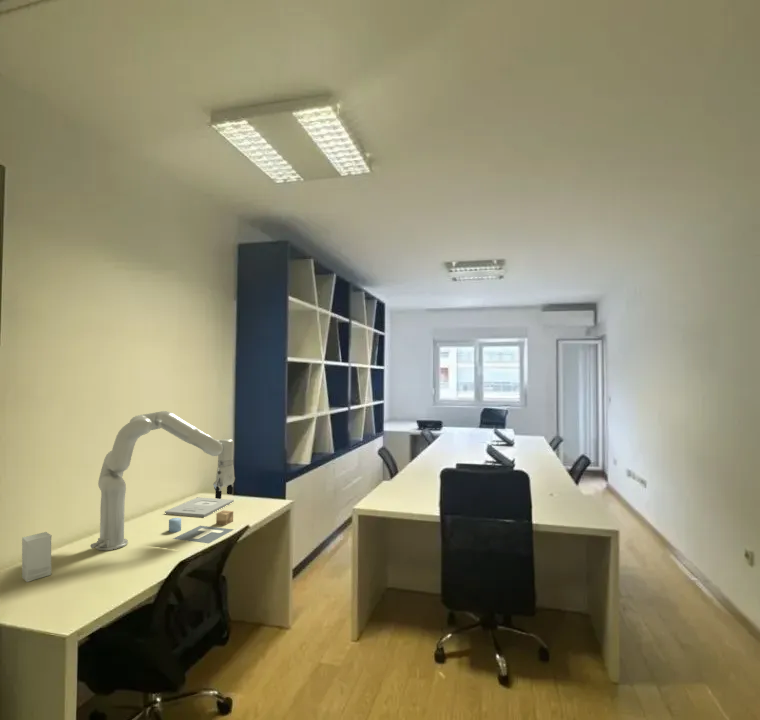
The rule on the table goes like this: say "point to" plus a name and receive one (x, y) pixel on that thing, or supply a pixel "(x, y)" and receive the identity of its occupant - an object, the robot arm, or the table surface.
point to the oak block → (224, 517)
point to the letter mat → (203, 534)
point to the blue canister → (175, 525)
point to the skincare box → (36, 556)
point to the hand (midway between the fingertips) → (224, 496)
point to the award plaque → (199, 507)
